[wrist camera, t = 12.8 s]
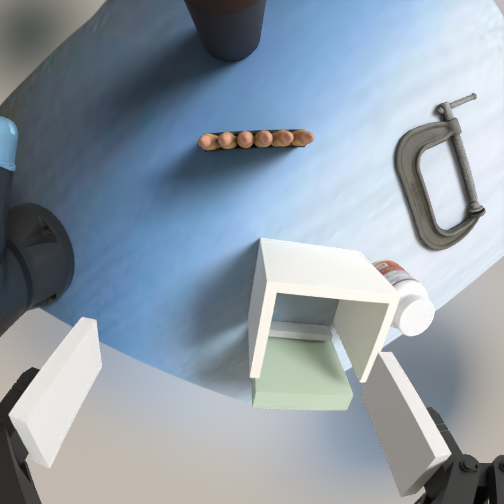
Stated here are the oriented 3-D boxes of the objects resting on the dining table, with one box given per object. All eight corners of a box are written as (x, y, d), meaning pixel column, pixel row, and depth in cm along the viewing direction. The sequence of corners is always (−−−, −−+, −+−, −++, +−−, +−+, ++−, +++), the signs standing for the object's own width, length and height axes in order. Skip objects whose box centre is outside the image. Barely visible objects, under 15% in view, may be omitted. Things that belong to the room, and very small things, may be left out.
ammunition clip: (207, 151, 36) (191, 153, 25) (206, 135, 36) (189, 131, 24) (299, 146, 36) (323, 147, 25) (298, 131, 36) (322, 125, 24)
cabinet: (242, 349, 45) (242, 414, 33) (260, 237, 40) (267, 280, 27) (328, 355, 46) (351, 417, 33) (358, 251, 41) (401, 294, 28)
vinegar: (270, 28, 31) (293, -64, 12) (241, 71, 33) (239, 0, 14) (221, 6, 30) (203, -93, 11) (192, 48, 32) (145, -32, 13)
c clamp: (378, 115, 35) (387, 114, 33) (472, 93, 34) (483, 91, 31) (414, 258, 42) (423, 265, 39) (497, 220, 40) (507, 224, 37)
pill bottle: (391, 302, 43) (425, 345, 33) (354, 295, 43) (384, 339, 32) (407, 263, 41) (448, 298, 31) (370, 253, 41) (407, 288, 30)
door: (249, 347, 45) (251, 412, 33) (252, 327, 44) (255, 391, 32) (323, 353, 46) (344, 415, 33) (328, 334, 45) (353, 394, 32)
